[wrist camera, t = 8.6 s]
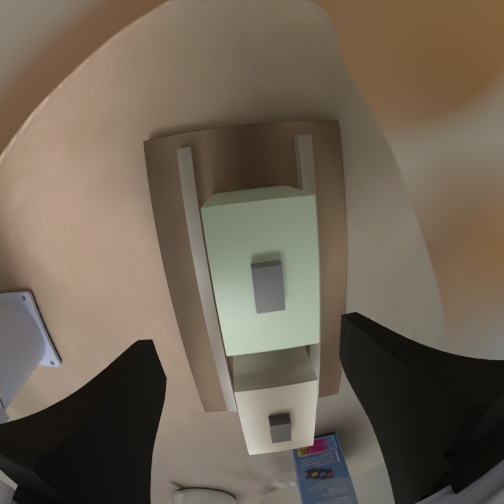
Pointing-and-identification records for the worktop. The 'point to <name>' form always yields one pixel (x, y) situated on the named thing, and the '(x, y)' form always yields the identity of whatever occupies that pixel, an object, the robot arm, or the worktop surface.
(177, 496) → the mug
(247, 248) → the module
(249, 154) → the rail board
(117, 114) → the worktop surface
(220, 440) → the worktop surface
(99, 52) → the worktop surface
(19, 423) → the robot arm
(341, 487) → the ink cartridge box
